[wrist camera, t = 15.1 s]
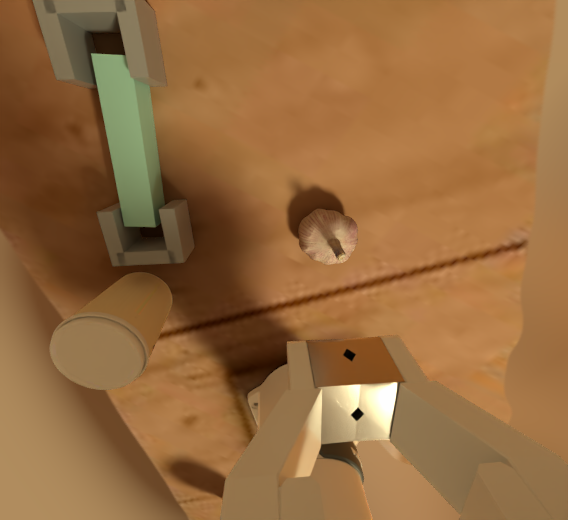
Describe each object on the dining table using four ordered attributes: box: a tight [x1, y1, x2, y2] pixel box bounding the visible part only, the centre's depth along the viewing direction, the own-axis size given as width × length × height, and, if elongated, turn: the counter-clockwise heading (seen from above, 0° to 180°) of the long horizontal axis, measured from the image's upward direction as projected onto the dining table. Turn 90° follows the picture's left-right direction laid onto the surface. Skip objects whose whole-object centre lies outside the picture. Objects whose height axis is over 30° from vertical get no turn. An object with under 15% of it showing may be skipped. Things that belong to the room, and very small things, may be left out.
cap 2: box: [96, 199, 195, 266], centre depth 33 cm, size 6×8×5 cm
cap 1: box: [32, 0, 167, 89], centre depth 26 cm, size 6×8×5 cm
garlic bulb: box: [298, 209, 358, 265], centre depth 33 cm, size 8×7×8 cm
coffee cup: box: [50, 272, 173, 390], centre depth 34 cm, size 9×9×12 cm
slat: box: [91, 53, 165, 227], centre depth 30 cm, size 16×3×4 cm, turn 178°
